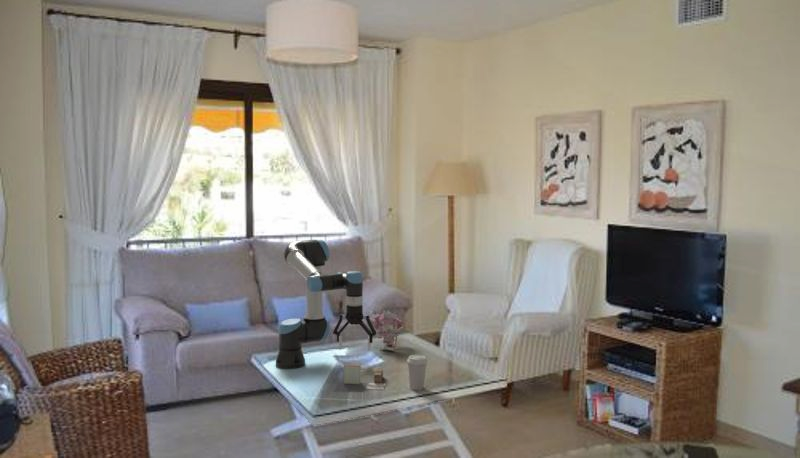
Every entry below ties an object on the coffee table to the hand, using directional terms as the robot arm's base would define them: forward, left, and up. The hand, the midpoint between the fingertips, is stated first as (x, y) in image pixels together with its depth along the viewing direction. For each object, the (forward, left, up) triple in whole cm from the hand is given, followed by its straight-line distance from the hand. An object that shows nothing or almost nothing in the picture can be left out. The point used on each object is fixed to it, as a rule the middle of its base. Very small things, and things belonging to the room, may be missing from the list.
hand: (354, 349), depth 313 cm
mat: (0, -2, -19) cm, 19 cm away
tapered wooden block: (-5, +10, -19) cm, 22 cm away
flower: (-68, +8, -19) cm, 71 cm away
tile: (-5, -2, -18) cm, 19 cm away
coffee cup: (-3, +29, -19) cm, 35 cm away
